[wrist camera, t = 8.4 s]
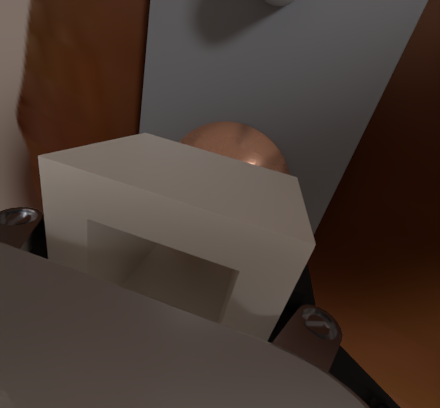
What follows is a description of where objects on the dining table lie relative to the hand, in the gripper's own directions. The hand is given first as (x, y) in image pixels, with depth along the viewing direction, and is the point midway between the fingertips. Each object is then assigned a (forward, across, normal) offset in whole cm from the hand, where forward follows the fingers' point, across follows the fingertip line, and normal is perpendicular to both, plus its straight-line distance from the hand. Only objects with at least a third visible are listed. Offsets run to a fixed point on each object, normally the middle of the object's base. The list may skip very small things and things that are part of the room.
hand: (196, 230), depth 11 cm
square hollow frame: (+1, 0, 0) cm, 1 cm away
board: (+8, 0, -6) cm, 10 cm away
